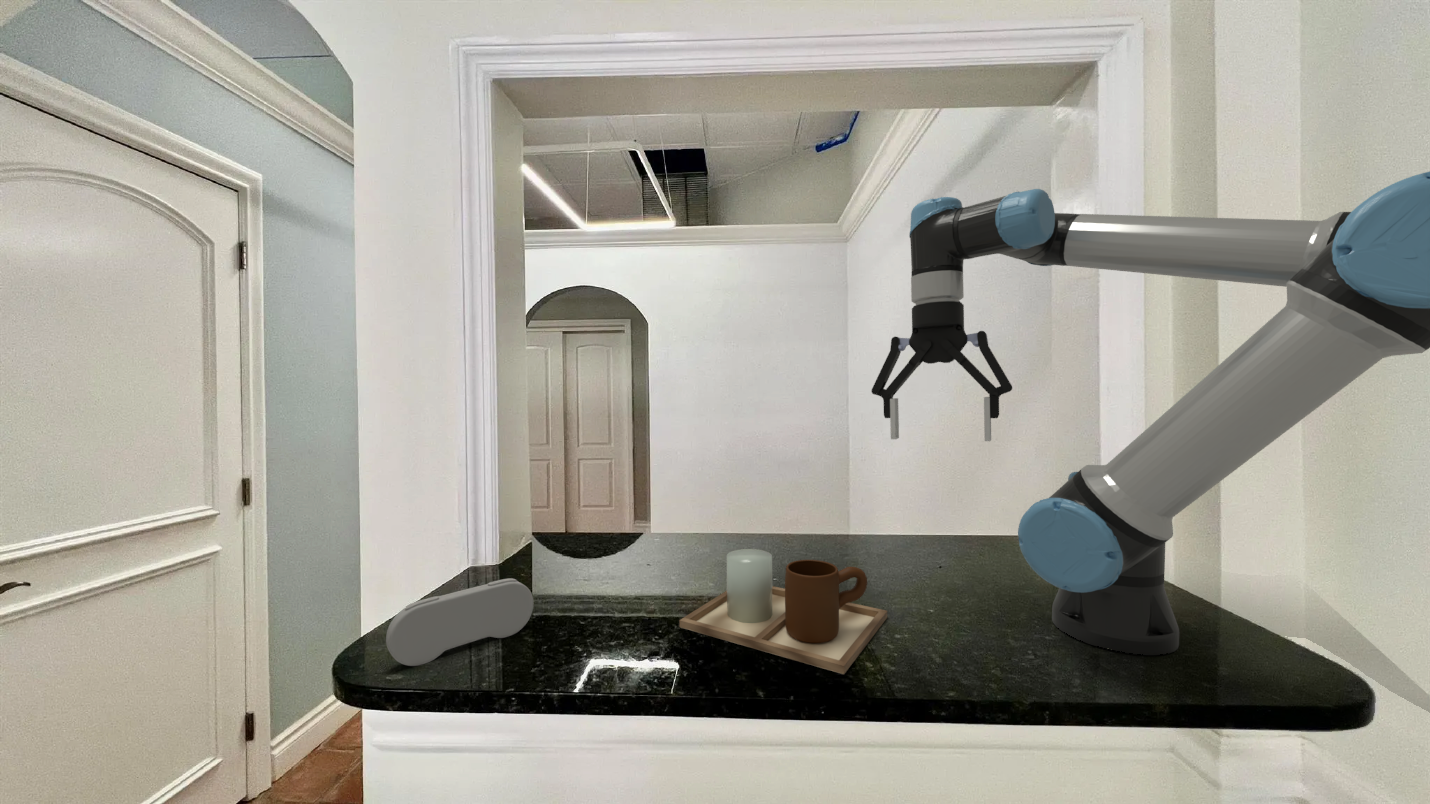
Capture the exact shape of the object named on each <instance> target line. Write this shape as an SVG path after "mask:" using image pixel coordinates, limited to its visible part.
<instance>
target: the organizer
mask: <svg viewBox="0 0 1430 804" xmlns="http://www.w3.org/2000/svg"><path fill="white" fill-rule="evenodd" d="M887 619H888V610H885V609H882V608H875V607H872V606H867V605H863V604H858V603H853V602H849V603H846V604H845V605H844V606H842V607H841V608H840V609H839V631H838V634H837V636H836V637H835V638H834V639H833V640H831V641H828V642H824V643H807V642H802V641H799V640H797V639H795V638H793V637H792V636H790V635H789V634H788V632H787V630H786V624H785V587H784V588H783V587H779V586H778V587H777V586H775V585H772V617H771V618H770V619H768V620H766V621H763V622H758V623H743V622H738V621H735V620H733V619H731V618H730V617H729V616H728V615H727V590H725V591H724V592H722V593H721V594H718V595H717V596H716V597H714V598H713V599H711V600H709V601H708V602H706V603H704V604H703V605H701V606H700V607H697V609H695V610H693V611H692V612H690V613H689V614H687V615H686V616H684V617H682V618H680V619H679V620H678V621H679V628H681V629H685V630H689V631H692V632H695V633H698V634H702V635H704V636H705V635H706V636H709V637H713V638H716V639H720V640H723V641H726V642H730V643H734V644H737V645H741V646H744V647H747V648H751V649H754V650H758V651H761V652H765V653H769V654H772V655H775V656H779V657H781V658H786V659H788V660H792V661H796V662H799V663H804V664H805V665H811V666H814V667H817V668H820V669H824V670H827V671H832V672H834V673H838V674H841V675H845V674H846V673H847V671H849V668H850V667H851V666H852V664H854V662H855V661H856V660H857V658H858V657H859V656H860V654H861V653H862V651H863V650H864V649H865V648H866V646H867V645H868V644H869V642H870V641H871V640H872V639H873V637H874V635H875V634H876V633H877V632H878V631H879V629H880V628H881V626H882V625H883V624H884V623H885V621H886V620H887Z"/></svg>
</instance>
